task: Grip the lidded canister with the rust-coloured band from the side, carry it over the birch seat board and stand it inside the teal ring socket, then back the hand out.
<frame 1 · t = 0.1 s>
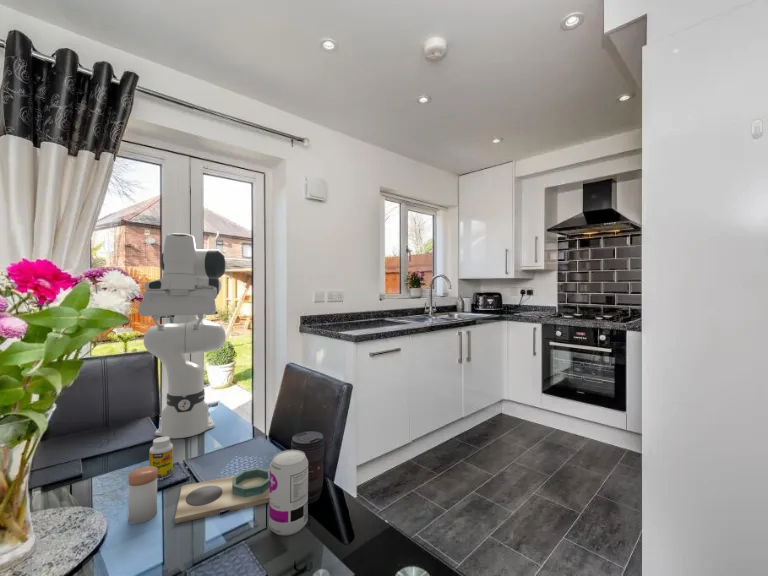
hand: (178, 330, 107), 39 cm above the table, tool pointing down, fingers open, 8 cm apart
supplement can: (288, 525, 79), on the table
lidded canister: (142, 515, 81), on the table
supplement bottle: (161, 476, 98), on the table
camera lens: (307, 496, 89), on the table
seat board: (228, 495, 89), on the table
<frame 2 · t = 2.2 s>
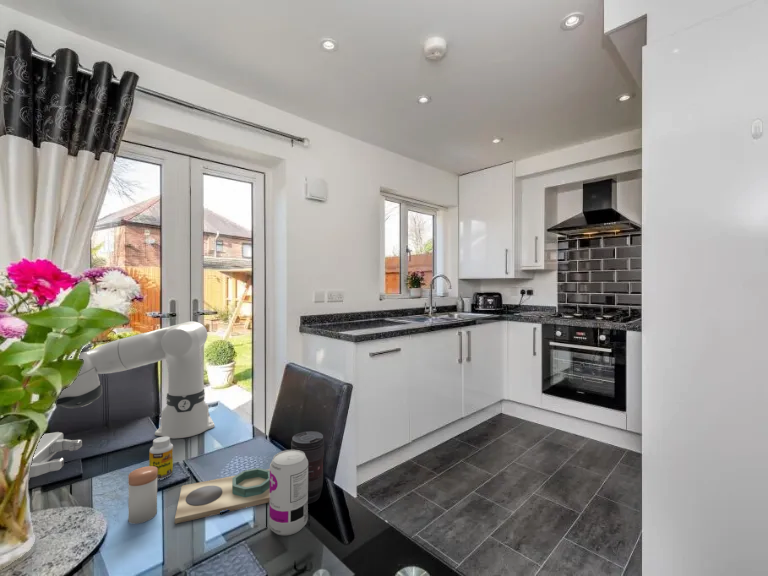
hand: (72, 453, 76), 16 cm above the table, tool horizontal, fingers open, 8 cm apart
nothing on the table moved.
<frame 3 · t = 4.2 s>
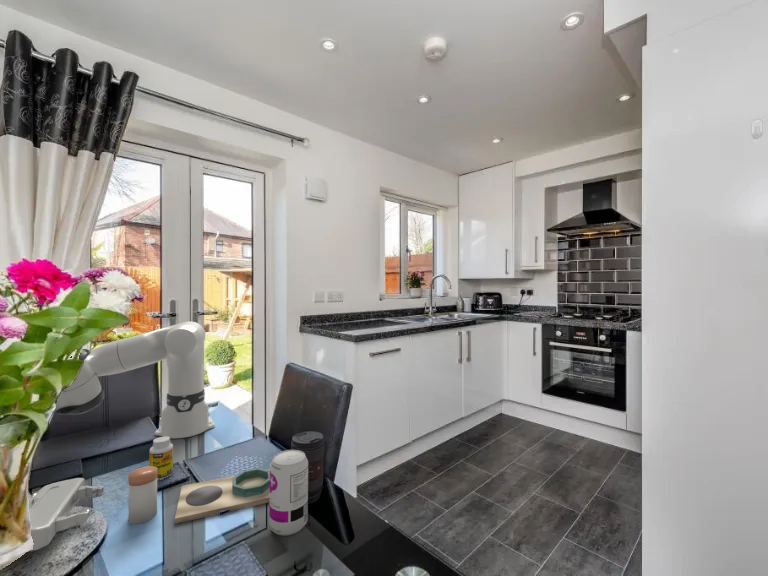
hand: (96, 502, 77), 5 cm above the table, tool horizontal, fingers open, 8 cm apart
nothing on the table moved.
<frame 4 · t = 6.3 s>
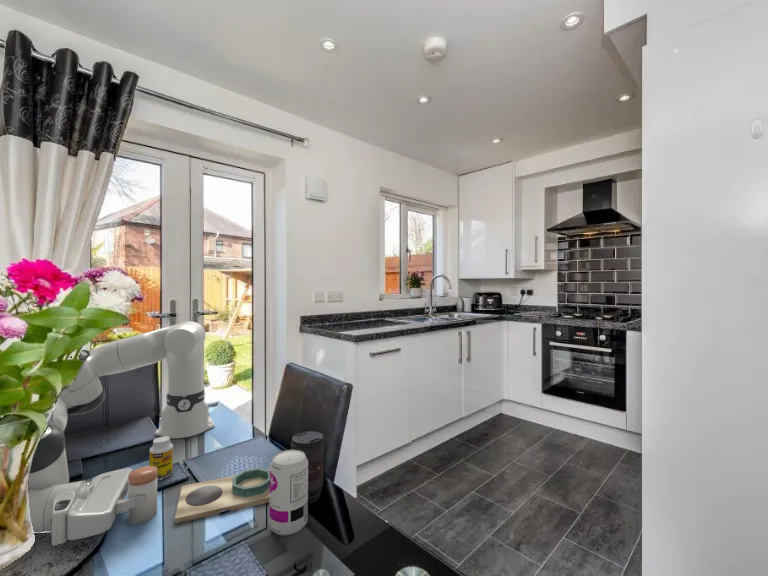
hand: (147, 490, 81), 6 cm above the table, tool horizontal, fingers closed on lidded canister, 5 cm apart
lidded canister: (142, 515, 81), on the table, touching gripper
everything else where it was.
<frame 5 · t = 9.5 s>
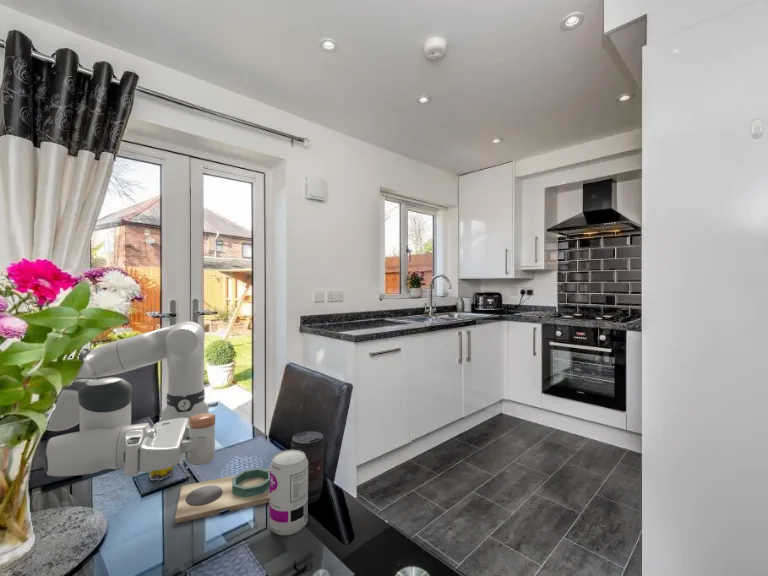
hand: (206, 435, 85), 17 cm above the table, tool horizontal, fingers closed on lidded canister, 5 cm apart
lidded canister: (201, 459, 85), point 11 cm above the table, touching gripper
everything else where it was.
when the fingers open (8 cm above the table, at t = 12.9 s): lidded canister drops 1 cm, resting on seat board.
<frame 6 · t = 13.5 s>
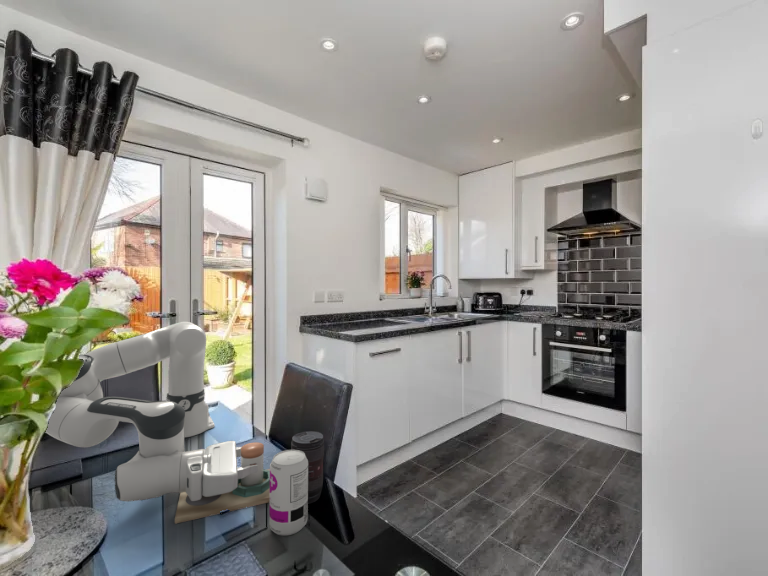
hand: (256, 458, 92), 8 cm above the table, tool horizontal, fingers open, 8 cm apart
lidded canister: (252, 485, 91), point 1 cm above the table, touching seat board
everything else where it was.
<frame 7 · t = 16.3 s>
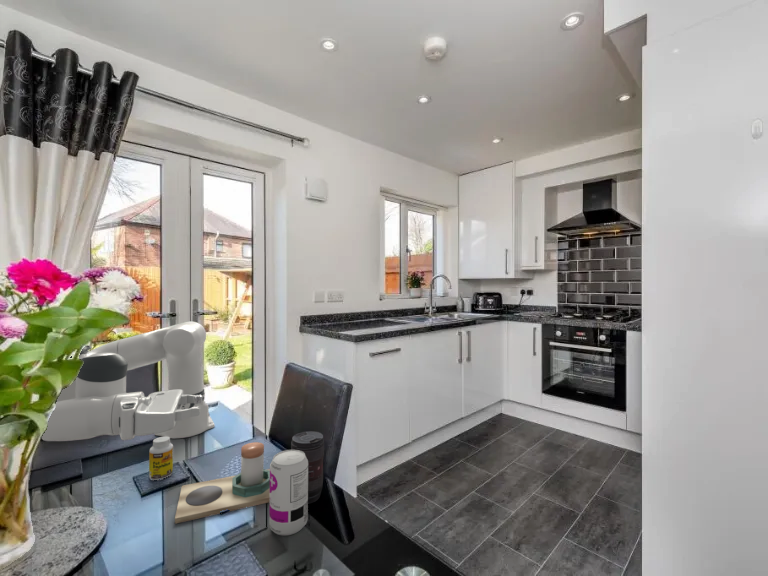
hand: (200, 404, 86), 24 cm above the table, tool horizontal, fingers open, 8 cm apart
nothing on the table moved.
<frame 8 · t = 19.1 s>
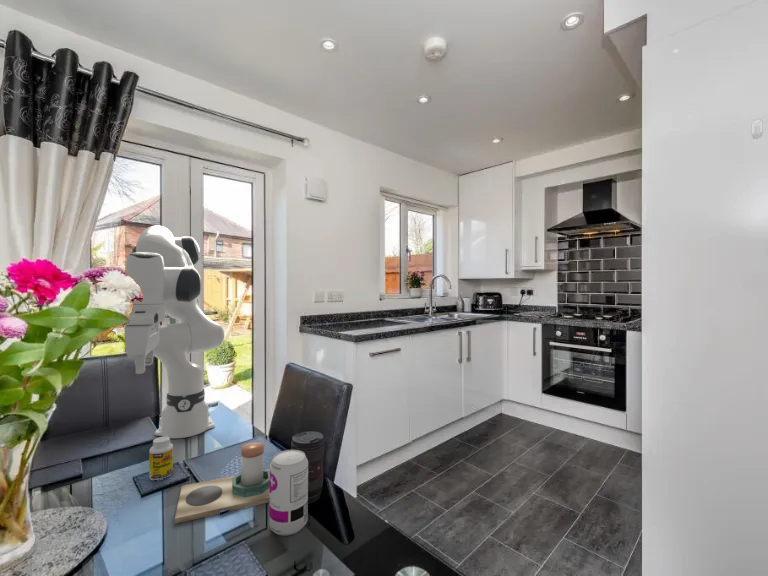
hand: (144, 368, 91), 31 cm above the table, tool pointing down, fingers open, 8 cm apart
nothing on the table moved.
at the end: lidded canister 0.0 cm from the target spot on the seat board, point 1.3 cm above the seat board's base; lidded canister tilted 1°; the gripper is holding nothing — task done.
